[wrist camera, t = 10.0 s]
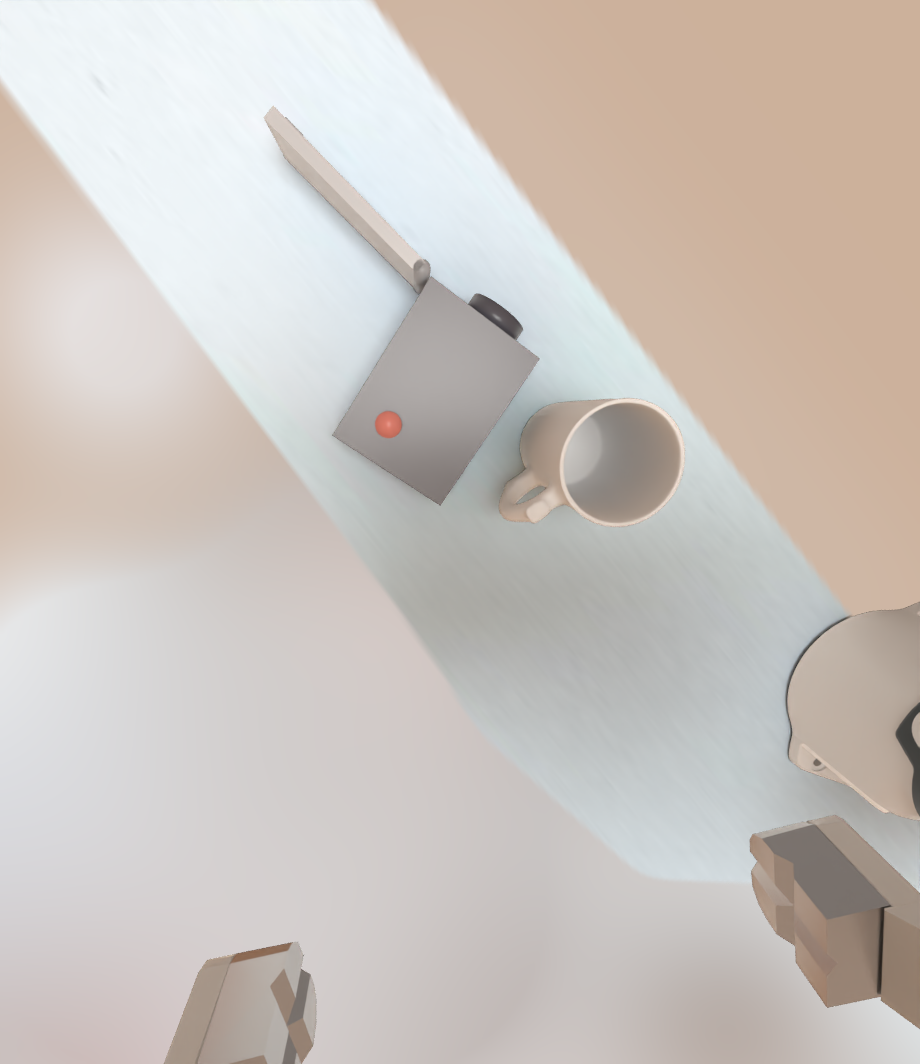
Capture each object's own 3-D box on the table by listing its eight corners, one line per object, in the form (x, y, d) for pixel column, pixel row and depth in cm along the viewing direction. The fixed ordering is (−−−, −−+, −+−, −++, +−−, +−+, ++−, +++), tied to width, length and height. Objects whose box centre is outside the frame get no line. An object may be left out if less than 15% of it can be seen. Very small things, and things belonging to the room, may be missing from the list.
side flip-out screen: (421, 297, 35) (422, 281, 30) (284, 159, 32) (262, 119, 28) (433, 283, 35) (436, 265, 30) (296, 144, 32) (276, 100, 27)
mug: (577, 380, 37) (650, 371, 26) (620, 457, 39) (706, 481, 28) (461, 457, 38) (482, 481, 26) (508, 529, 40) (547, 583, 28)
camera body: (532, 348, 37) (555, 339, 31) (436, 491, 39) (440, 507, 33) (437, 276, 35) (442, 252, 29) (342, 429, 37) (329, 435, 31)
